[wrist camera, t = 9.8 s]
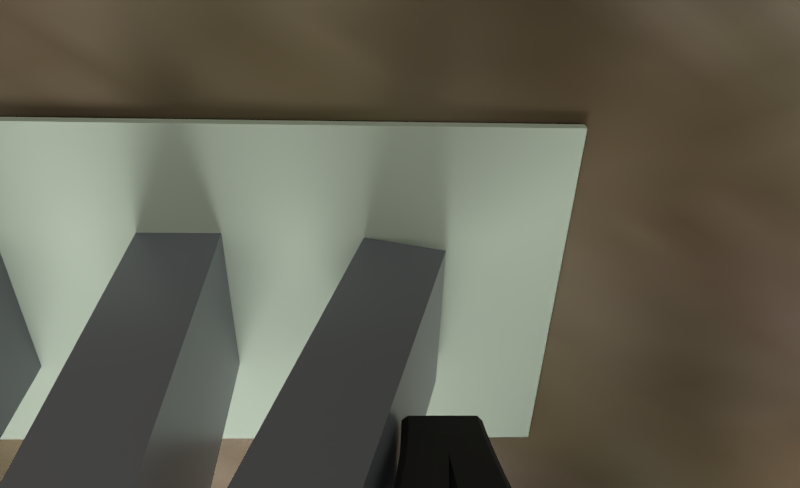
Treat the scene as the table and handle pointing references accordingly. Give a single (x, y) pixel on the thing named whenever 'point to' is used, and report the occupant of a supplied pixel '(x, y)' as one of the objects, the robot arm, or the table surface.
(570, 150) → the felt strip
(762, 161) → the table surface
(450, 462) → the robot arm
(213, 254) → the tile
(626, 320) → the table surface
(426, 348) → the tile
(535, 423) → the table surface
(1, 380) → the tile
